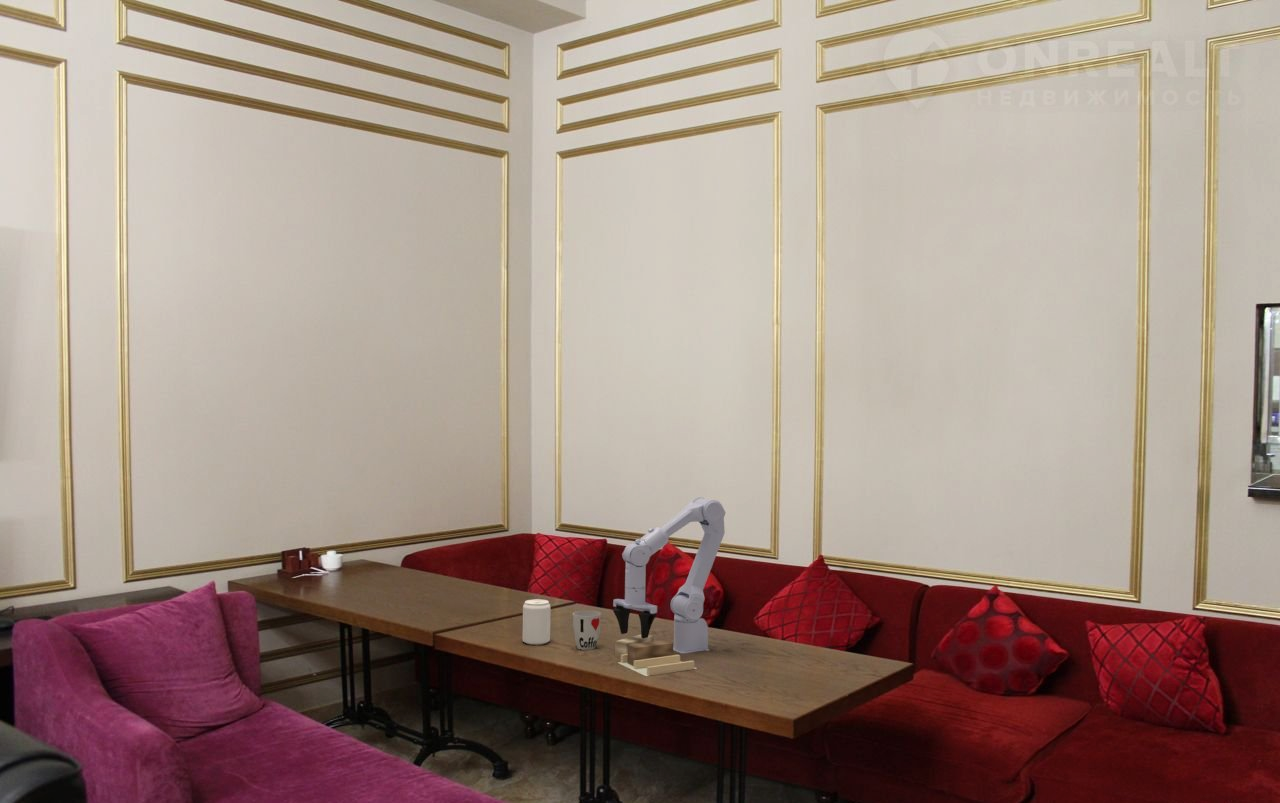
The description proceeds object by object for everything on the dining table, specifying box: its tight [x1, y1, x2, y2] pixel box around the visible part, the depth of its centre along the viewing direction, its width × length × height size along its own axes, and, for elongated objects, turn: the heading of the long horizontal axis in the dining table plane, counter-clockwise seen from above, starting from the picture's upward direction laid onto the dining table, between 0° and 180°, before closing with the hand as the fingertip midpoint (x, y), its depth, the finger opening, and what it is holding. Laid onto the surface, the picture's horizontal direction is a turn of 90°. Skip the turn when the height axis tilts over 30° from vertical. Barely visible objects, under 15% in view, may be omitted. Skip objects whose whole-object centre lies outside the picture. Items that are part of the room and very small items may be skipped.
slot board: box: [617, 654, 698, 677], centre depth 262 cm, size 16×15×3 cm
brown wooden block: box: [628, 639, 674, 666], centre depth 265 cm, size 12×4×5 cm, turn 120°
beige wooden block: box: [614, 633, 655, 659], centre depth 275 cm, size 12×4×5 cm, turn 140°
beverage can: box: [522, 598, 551, 646], centre depth 289 cm, size 8×8×12 cm
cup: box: [572, 610, 602, 651], centre depth 283 cm, size 8×8×10 cm
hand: (634, 635), depth 275 cm, fingers open, 7 cm apart
